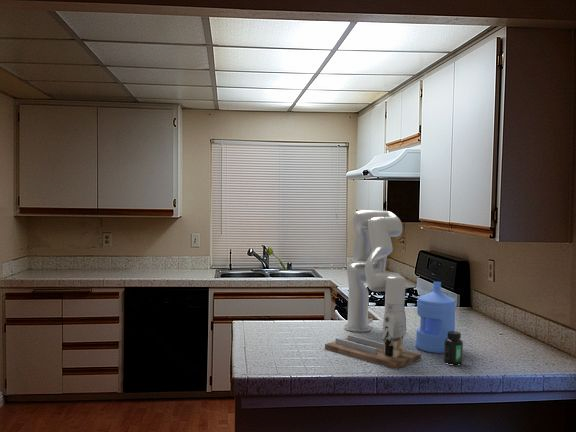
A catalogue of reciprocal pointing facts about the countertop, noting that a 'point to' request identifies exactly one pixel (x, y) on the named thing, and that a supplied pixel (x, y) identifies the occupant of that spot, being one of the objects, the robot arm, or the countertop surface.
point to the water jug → (435, 319)
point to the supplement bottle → (453, 348)
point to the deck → (374, 355)
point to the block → (396, 347)
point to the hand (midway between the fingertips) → (393, 353)
